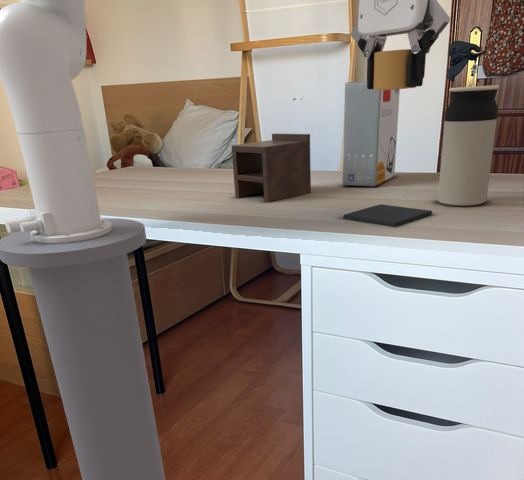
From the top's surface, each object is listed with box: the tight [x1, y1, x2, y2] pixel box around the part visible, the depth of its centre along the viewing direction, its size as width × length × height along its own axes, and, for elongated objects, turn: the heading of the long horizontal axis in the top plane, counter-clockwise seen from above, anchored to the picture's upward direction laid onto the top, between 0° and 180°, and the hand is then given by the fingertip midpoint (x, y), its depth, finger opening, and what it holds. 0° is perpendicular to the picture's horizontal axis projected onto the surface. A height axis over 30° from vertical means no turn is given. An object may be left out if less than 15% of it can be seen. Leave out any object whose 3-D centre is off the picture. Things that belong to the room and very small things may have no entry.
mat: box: [342, 204, 433, 227], centre depth 85 cm, size 10×10×1 cm
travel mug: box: [437, 84, 500, 207], centre depth 88 cm, size 8×8×18 cm
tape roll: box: [373, 48, 417, 90], centre depth 76 cm, size 6×6×5 cm
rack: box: [231, 132, 312, 203], centre depth 106 cm, size 12×10×11 cm
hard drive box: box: [341, 80, 401, 187], centre depth 113 cm, size 16×8×20 cm, turn 153°
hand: (394, 86), depth 77 cm, fingers closed on tape roll, 6 cm apart
